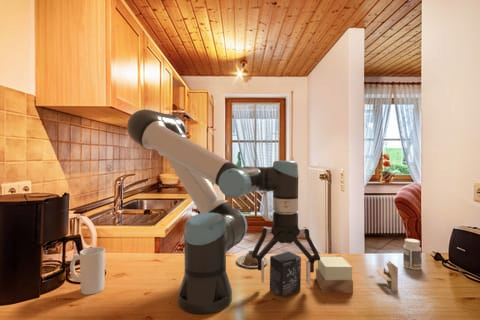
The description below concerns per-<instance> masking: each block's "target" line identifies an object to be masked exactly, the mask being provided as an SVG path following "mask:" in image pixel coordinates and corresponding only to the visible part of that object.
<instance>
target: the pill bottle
mask: <svg viewBox="0 0 480 320" xmlns="http://www.w3.org/2000/svg"><path fill="white" fill-rule="evenodd" d="M404 243H405V244H404V245H403V248H402V249H403V250H402V251H403V259H402V260H403V261H402V262H403V266H404V267H405V268H406V269H410V270H415V271H419V270H421V269H422V266H423V265H422V263H423V262H422V247H420V245H421V241H420V240H419V239H415V238H405V239H404Z"/></svg>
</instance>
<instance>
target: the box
mask: <svg viewBox="0 0 480 320" xmlns="http://www.w3.org/2000/svg"><path fill="white" fill-rule="evenodd" d="M301 262H302V257H301V256H299V255H297V254H295V253H293V252H290V251H286V252H282V253H278V254H274V255H270V257H269V291H271V292H272V293H273V294H275V295H276V296H278V297H279V298H284V297H286V296H290V295H292V294H295V293H298V292H300V291H301V289H302V287H301V280H302V279H301V277H302V271H301V270H302V269H301V268H302V267H301V266H302V263H301Z"/></svg>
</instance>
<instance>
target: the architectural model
mask: <svg viewBox="0 0 480 320" xmlns="http://www.w3.org/2000/svg"><path fill="white" fill-rule="evenodd" d="M385 264H386V266H387V269H386V268H385V267H383V270H382V269H381V270H380V269H377V270H376V272H377V273H378V275H380V276H381V277H382V278H383V279H384V280H385V281H386V283H387V285H388V286H387V287H388V288H390V289H391V290H390V291H394V292H395V291H399V287H398V286H399V285H398V284H399V283H398V282H399V279H398V278H399V275H398V273H399V268H398V266H397V265H395V264H394V263H393V262H392V261H391V260H388V262H387V261H386V262H385Z"/></svg>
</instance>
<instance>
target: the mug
mask: <svg viewBox="0 0 480 320" xmlns="http://www.w3.org/2000/svg"><path fill="white" fill-rule="evenodd" d="M76 261H79V271H80V272H79V274H78V273H77V272H76V269H75V264H76ZM105 264H106V248H105V247H102V246H93V247H89V248H84V249H82V250H79V253H75V254H73V255H72V259H71V261H70V265H69V269H70V274H71V276H72V280H73V281H74V282H79V283H80V293H81V294H83V295H85V296H87V295H88V296H89V295H94V294H95V295H96V294H98V293H100V292H101V291H103V290H104V289H105V277H106V274H105V272H106V271H105V270H106V265H105Z"/></svg>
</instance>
